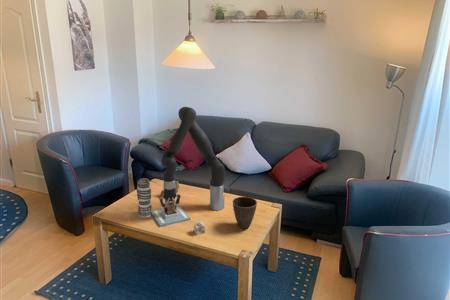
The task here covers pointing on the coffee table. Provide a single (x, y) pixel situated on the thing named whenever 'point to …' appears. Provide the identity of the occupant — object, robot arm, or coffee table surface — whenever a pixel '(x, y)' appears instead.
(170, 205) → the block
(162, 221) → the jig
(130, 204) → the coffee table surface
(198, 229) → the block
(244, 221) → the plant pot
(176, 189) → the wooden block set
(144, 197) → the grey stacked tower
